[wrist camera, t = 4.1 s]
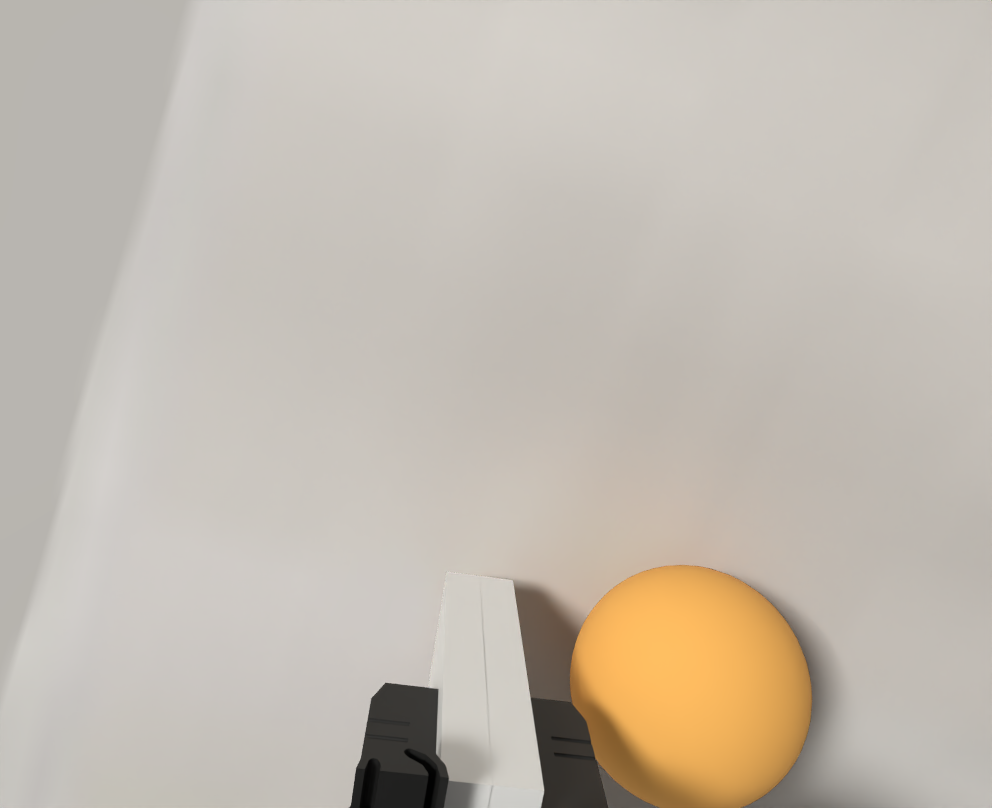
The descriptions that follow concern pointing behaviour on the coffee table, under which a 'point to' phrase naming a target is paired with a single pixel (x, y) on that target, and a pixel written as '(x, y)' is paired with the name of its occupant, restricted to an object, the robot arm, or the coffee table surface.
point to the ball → (691, 688)
